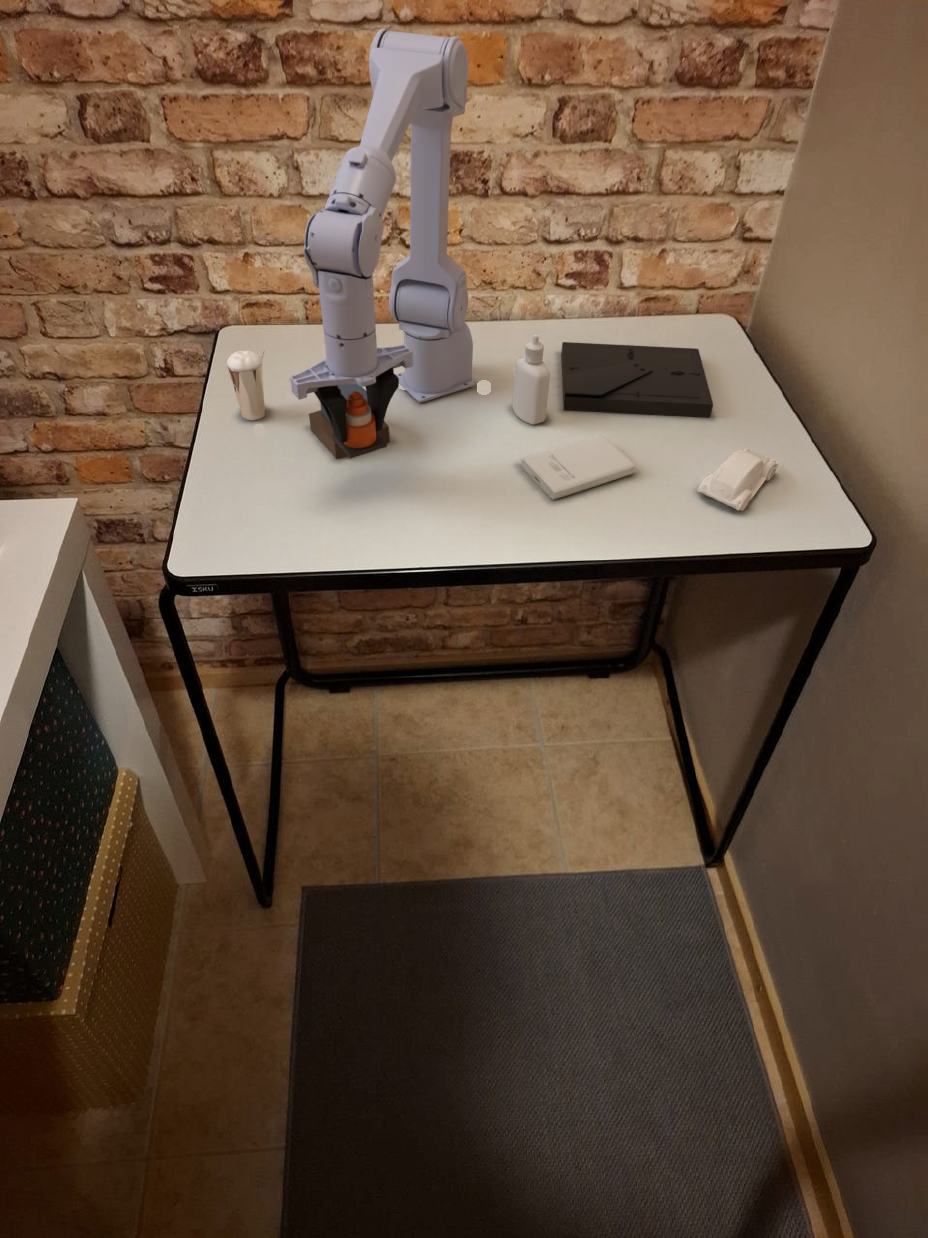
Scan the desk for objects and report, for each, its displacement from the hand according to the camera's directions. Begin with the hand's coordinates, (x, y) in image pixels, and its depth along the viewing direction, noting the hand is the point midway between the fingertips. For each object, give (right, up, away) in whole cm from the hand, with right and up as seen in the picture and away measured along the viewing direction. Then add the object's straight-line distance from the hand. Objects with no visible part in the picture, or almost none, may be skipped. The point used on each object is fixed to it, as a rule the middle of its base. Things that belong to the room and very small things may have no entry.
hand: (358, 432), depth 103 cm
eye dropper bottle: (+22, +6, +17) cm, 29 cm away
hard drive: (+28, -3, +9) cm, 29 cm away
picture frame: (+38, +12, +24) cm, 46 cm away
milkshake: (-16, +6, +16) cm, 23 cm away
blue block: (-3, +4, +11) cm, 12 cm away
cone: (0, -1, +1) cm, 1 cm away
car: (+48, -5, +7) cm, 49 cm away
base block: (-3, +2, +13) cm, 13 cm away
